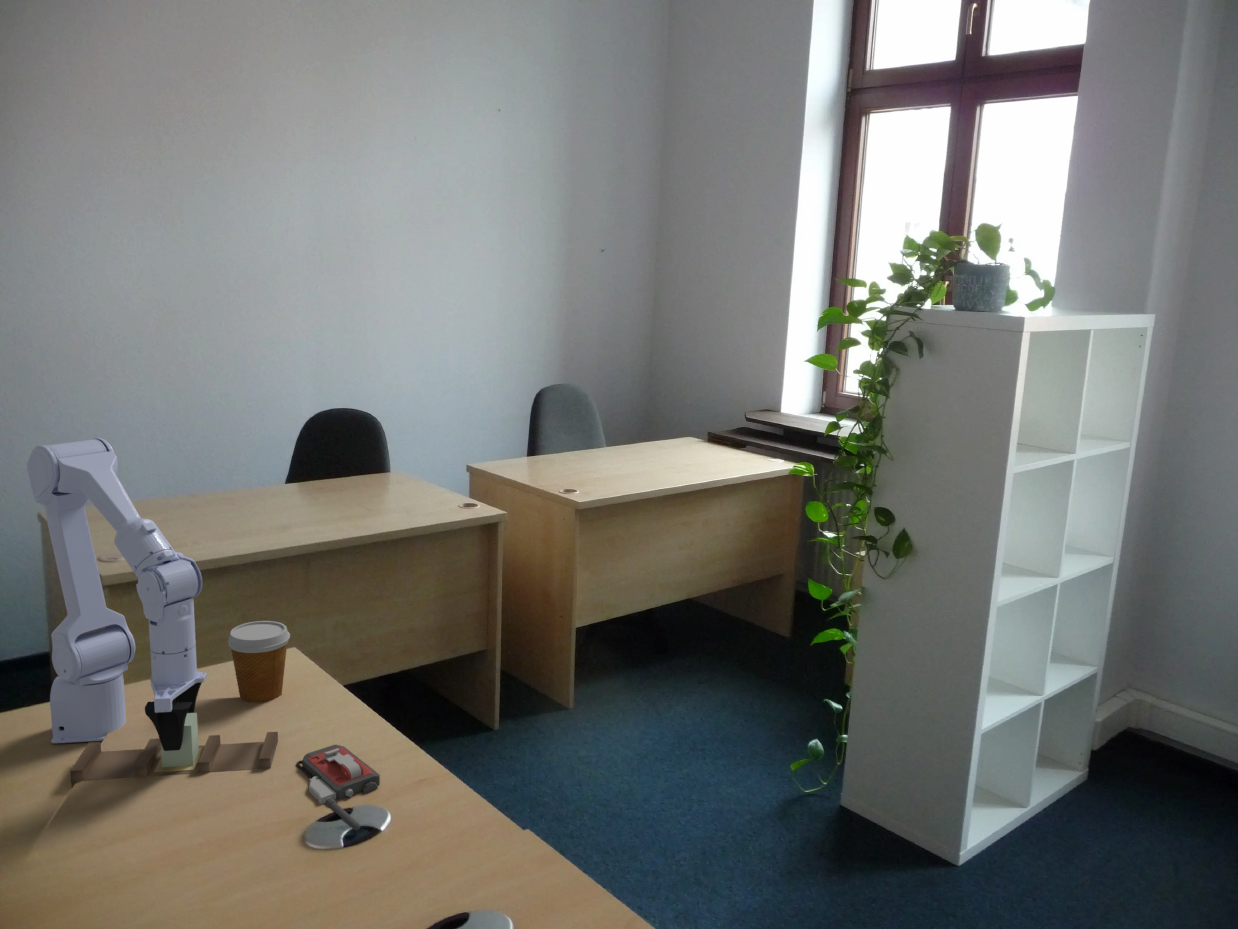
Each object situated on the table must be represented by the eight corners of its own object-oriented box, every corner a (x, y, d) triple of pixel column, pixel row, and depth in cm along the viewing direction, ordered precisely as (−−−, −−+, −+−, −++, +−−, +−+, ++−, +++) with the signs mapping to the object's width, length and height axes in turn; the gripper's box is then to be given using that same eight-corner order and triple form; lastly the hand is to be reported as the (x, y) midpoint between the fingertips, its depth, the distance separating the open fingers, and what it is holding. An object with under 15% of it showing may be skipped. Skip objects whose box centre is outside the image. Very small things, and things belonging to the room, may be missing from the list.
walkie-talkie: (282, 777, 136) (350, 841, 122) (281, 748, 135) (349, 809, 121) (340, 758, 142) (411, 816, 128) (339, 730, 141) (411, 786, 127)
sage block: (162, 767, 135) (159, 727, 133) (168, 753, 138) (166, 714, 137) (193, 765, 135) (191, 725, 134) (198, 751, 139) (196, 712, 138)
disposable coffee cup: (228, 692, 161) (225, 623, 159) (288, 684, 165) (286, 617, 163) (232, 716, 153) (229, 644, 150) (295, 707, 157) (293, 637, 154)
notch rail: (71, 788, 131) (70, 770, 130) (90, 758, 138) (88, 742, 138) (270, 774, 136) (270, 758, 135) (278, 747, 144) (277, 731, 143)
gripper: (193, 666, 127) (197, 761, 130) (214, 626, 141) (218, 713, 144) (134, 668, 126) (140, 764, 129) (162, 628, 140) (167, 715, 143)
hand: (178, 737), depth 136 cm, fingers open, 6 cm apart
